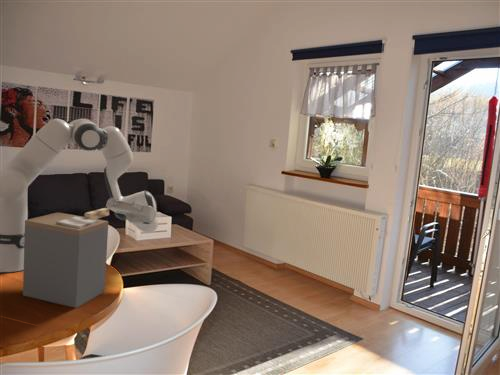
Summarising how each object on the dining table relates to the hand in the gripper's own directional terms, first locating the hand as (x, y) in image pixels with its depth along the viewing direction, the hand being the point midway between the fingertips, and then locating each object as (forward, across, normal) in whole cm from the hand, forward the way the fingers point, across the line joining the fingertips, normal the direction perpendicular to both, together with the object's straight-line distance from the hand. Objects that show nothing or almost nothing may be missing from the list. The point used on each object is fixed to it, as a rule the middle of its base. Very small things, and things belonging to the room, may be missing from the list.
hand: (122, 201), depth 182 cm
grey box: (+9, -3, +39) cm, 40 cm away
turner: (+18, +1, +14) cm, 23 cm away
